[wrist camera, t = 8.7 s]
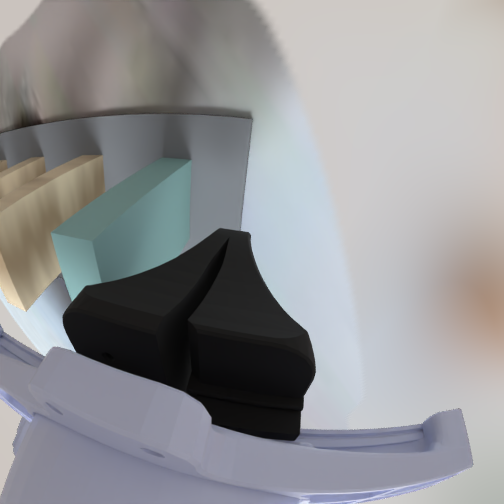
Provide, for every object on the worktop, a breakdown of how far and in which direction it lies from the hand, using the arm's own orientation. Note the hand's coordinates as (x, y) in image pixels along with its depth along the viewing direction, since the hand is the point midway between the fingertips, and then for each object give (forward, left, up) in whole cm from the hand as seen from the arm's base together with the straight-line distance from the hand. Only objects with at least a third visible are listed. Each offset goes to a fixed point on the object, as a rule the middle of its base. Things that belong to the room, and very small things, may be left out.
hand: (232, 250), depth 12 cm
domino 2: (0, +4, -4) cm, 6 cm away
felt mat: (-2, +16, -5) cm, 17 cm away
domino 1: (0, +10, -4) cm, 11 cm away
